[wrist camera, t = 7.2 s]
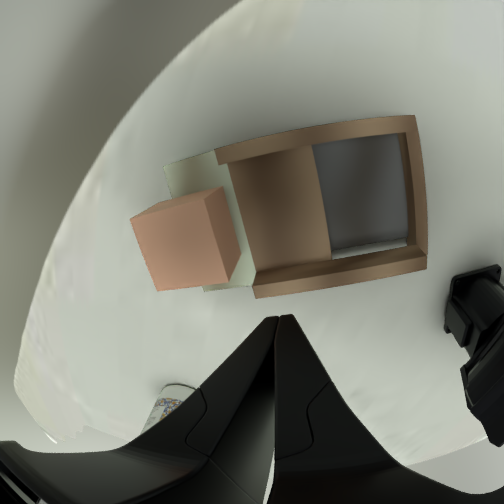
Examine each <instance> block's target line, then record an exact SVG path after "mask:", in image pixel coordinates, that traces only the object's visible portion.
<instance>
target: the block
mask: <svg viewBox="0 0 504 504" xmlns="http://www.w3.org/2000/svg"><path fill="white" fill-rule="evenodd" d="M130 221H131V224H132V227H133V230H134V233H135V236H136V238H137V241H138V244H139V247H140V249H141V252H142V255H143V257H144V260H145V262H146V265H147V267H148V270H149V272H150V275H151V277H152V280H153V282H154V285H155V287H156V289H157V291H164V290H173V289H181V288H189V287H197V286H205V285H212V284H220V283H227V282H229V281H230V278H231V276H232V274H233V272H234V270H235V267H236V265H237V263H238V261H239V258H240V256H241V251H240V248H239V244H238V240H237V237H236V233H235V229H234V226H233V222H232V218H231V215H230V211H229V207H228V204H227V200H226V196H225V192H224V189H223V186H220V187H216V188H212V189H208V190H204V191H200V192H196V193H192V194H188V195H185V196H181V197H177V198H174V199H170V200H167V201H163V202H160V203H157V204H156V205H154V206H152V207H150V208H148V209H147V210H145V211H143V212H141V213H140V214H138V215H136V216H134V217H133V218H131V219H130Z"/></svg>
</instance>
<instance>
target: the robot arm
mask: <svg viewBox="0 0 504 504" xmlns="http://www.w3.org/2000/svg"><path fill="white" fill-rule="evenodd" d="M500 275H501V267H500V266H499V265H495V266H491V267H488V268H484V269H481V270H477V271H474V272H470V273H466V274H463V275H459V276H456V277H454V278H453V279H452V283H451V291H450V298H449V301H448V306H447V312H446V318H445V327H444V330H445V332H446V333H447V334H448V333H451V332H452V334H453V335H454V337H455V339H456V341H457V342H458V344H459V346H460V347H461V348H463V347H465V349H466V351H467V352H468V354H469V356H470V359H469V361H468V362H467V363H466V364H464V365H463V366H462V367H461V368H460V371H461V376H462V381H463V386H464V391H465V397H466V402H467V407H468V409H469V410H470V412H471V413H472V414H473V415H474V416H475V417H476V418H477V419H478V420H479V421H480V422H481V423H482V425H483V427H484V429H485V431H486V434H487V436H488V439H489V441H490V443H492V444H494V445H496V446H497V447H501V446H502V445H503V444H504V286H503V285H502V284H501V283H500V282H499V281H500ZM457 281H458V282H457ZM456 282H457V283H456ZM274 447H275V452H274ZM273 452H274V460H275V464H274V478H273V484H272V488H271V492H270V494H269V498H268V501H267V504H504V486H503V487H501V488H500V489H498V490H495V491H493V492H490V493H485V494H469V493H465V492H461V491H459V490H456V489H454V488H451V487H448V486H446V485H444V484H441V483H439V482H437V481H434V480H432V479H430V478H428V477H425V476H423V475H421V474H419V473H417V472H415V471H413V470H411V469H409V468H407V467H405V466H403V465H402V464H400V463H399V462H398V461H396V460H395V459H394V458H393V457H392V456H391V455H390V454H389V453H388V452H387V451H386V450H385V449H384V448H383V447H382V446H381V444H380V443H379V442H378V441H377V440H376V439H375V438H374V436H373V435H372V434H371V433H370V432H369V431H368V430H367V428H366V427H365V426H364V425H363V424H362V423H361V421H360V420H359V419H358V418H357V417H356V415H355V414H354V413H353V412H352V410H351V409H350V408H349V406H348V405H347V404H346V402H345V401H344V399H343V398H342V396H341V395H340V393H339V391H338V390H337V388H336V386H335V385H334V383H333V382H332V380H331V378H330V376H329V375H328V373H327V371H326V370H325V368H324V366H323V364H322V363H321V361H320V359H319V358H318V356H317V354H316V352H315V351H314V349H313V347H312V346H311V344H310V342H309V340H308V339H307V337H306V335H305V334H304V332H303V330H302V328H301V327H300V325H299V323H298V322H297V320H296V318H295V317H294V315H293V314H288V315H281V316H280V317H279V316H272V317H266V318H265V319H264V320H263V321H262V322H261V323H260V324H259V325H258V326H257V327H256V328H255V329H254V330H253V332H252V333H251V334H250V335H249V336H248V337H247V338H246V339H245V340H244V341H243V342H242V343H241V344H240V345H239V346H238V347H237V349H236V350H235V351H234V352H233V353H232V354H231V355H230V356H229V357H228V358H227V359H226V360H225V361H224V362H223V363H222V364H221V365H220V366H219V367H218V368H217V369H216V370H215V371H214V372H213V373H212V374H211V375H210V376H209V377H208V378H207V379H206V380H205V381H204V382H203V383H202V384H201V385H200V388H197V389H196V390H195V391H194V392H193V393H192V394H191V395H190V396H189V397H188V398H186V399H185V400H184V401H183V402H182V403H181V404H180V405H179V406H178V407H176V408H175V409H174V410H173V411H172V412H170V413H169V414H168V415H167V416H165V417H164V418H163V419H161V420H160V421H159V422H157V423H156V424H155V425H153V426H152V427H151V428H149V429H148V430H146V431H145V432H144V433H142V434H141V435H139V436H138V437H137V438H135V439H134V440H132V441H131V442H129V443H128V444H126V445H124V446H122V447H120V448H117V449H114V450H109V451H101V452H85V453H41V452H34V451H30V450H27V449H25V448H23V447H22V446H21V445H20V444H18V443H17V442H16V441H0V504H263V500H264V495H265V491H266V486H267V482H268V477H269V472H270V467H271V462H272V457H273Z"/></svg>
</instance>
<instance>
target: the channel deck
mask: <svg viewBox="0 0 504 504" xmlns="http://www.w3.org/2000/svg"><path fill="white" fill-rule="evenodd" d="M163 169H164V173H165V176H166V179H167V183H168V186H169V189H170V193H171V196H172V199H174V198H177V197H181V196H185V195H188V194H192V193H196V192H200V191H204V190H208V189H212V188H216V187H220V186H223V189H224V192H225V196H226V200H227V204H228V207H229V211H230V215H231V218H232V222H233V226H234V229H235V233H236V237H237V240H238V244H239V248H240V251H241V256H240V258H239V261H238V263H237V265H236V267H235V270H234V272H233V274H232V276H231V278H230V281H229V282H227V283H220V284H212V285H205V286H202V288H203V290H204V292H205V291H213V290H220V289H228V288H235V287H242V286H249V285H252V288H253V291H254V295H255V298H256V299H258V298H265V297H272V296H279V295H286V294H293V293H300V292H306V291H313V290H319V289H325V288H331V287H337V286H343V285H349V284H354V283H360V282H365V281H371V280H376V279H381V278H386V277H391V276H396V275H401V274H406V273H411V272H416V271H420V270H425V269H427V254H428V224H427V201H426V187H425V177H424V167H423V159H422V152H421V145H420V139H419V133H418V128H417V123H416V118H415V115H404V116H390V117H379V118H369V119H360V120H352V121H345V122H338V123H331V124H325V125H319V126H313V127H307V128H302V129H296V130H291V131H286V132H282V133H277V134H272V135H268V136H264V137H259V138H255V139H251V140H247V141H243V142H239V143H235V144H231V145H228V146H224V147H221V148H217V149H214V151H210V152H207V153H204V154H200V155H197V156H194V157H191V158H187V159H184V160H181V161H178V162H175V163H172V164H169V165H166V166H163ZM404 237H407V246H405V247H400V248H395V249H389V250H384V251H379V252H373V253H368V254H362V255H356V256H351V257H345V258H339V259H334V260H332V255H331V250H337V249H342V248H348V247H354V246H360V245H365V244H371V243H376V242H382V241H388V240H393V239H399V238H404Z"/></svg>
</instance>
